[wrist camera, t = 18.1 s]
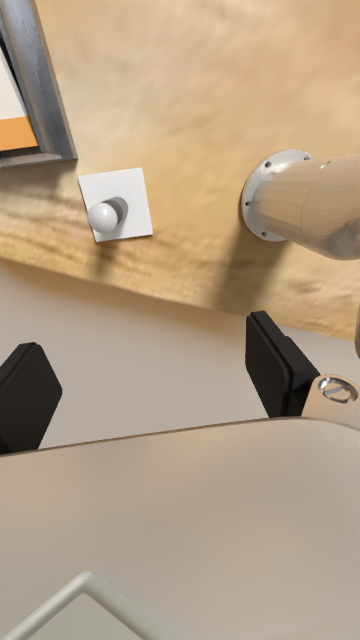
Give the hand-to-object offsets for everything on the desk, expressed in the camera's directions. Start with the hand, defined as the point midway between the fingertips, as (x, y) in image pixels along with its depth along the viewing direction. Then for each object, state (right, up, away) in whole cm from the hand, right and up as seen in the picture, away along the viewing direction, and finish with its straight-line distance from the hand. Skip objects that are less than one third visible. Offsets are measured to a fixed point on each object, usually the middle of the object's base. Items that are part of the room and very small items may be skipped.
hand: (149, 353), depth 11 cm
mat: (-8, +19, +26) cm, 33 cm away
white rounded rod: (-8, +18, +25) cm, 32 cm away
